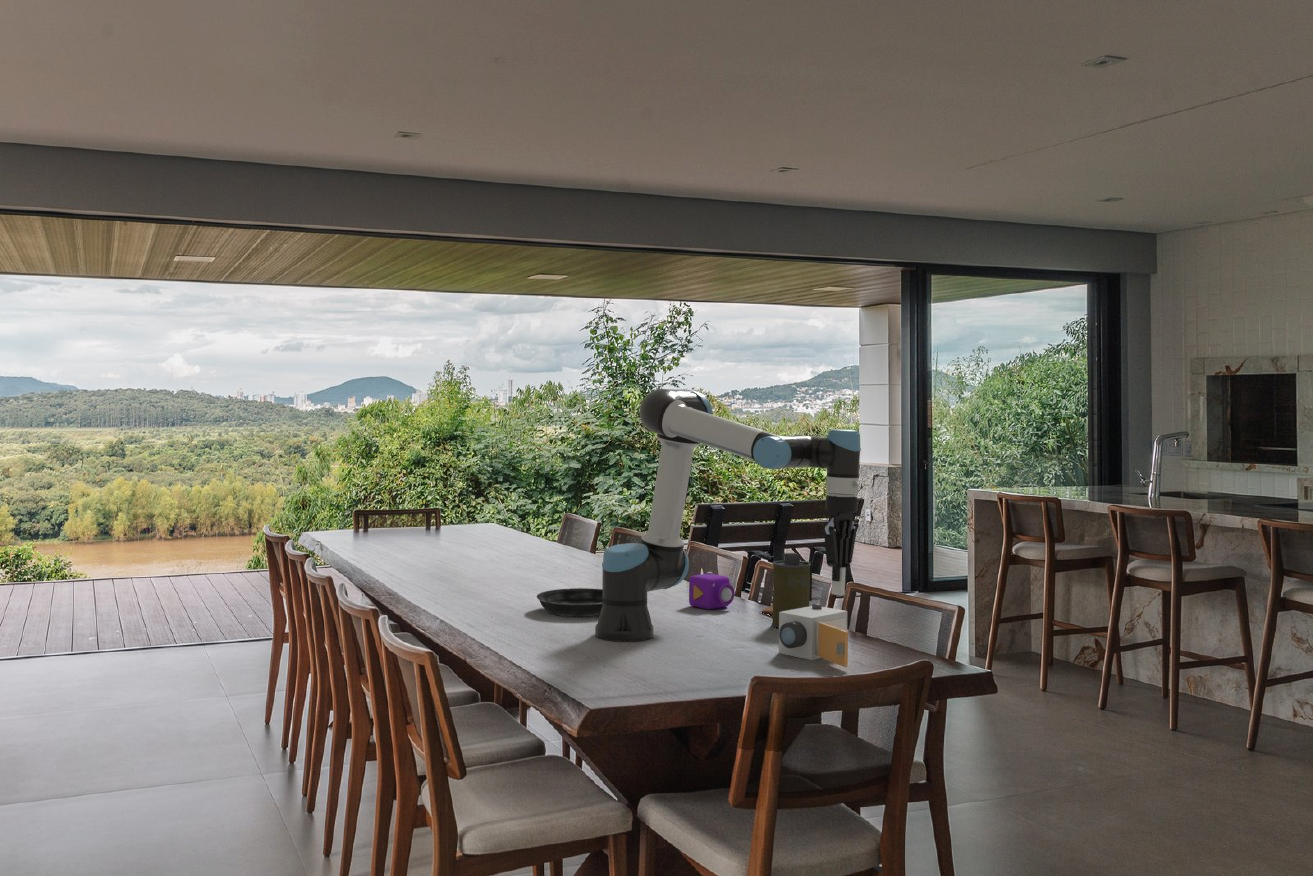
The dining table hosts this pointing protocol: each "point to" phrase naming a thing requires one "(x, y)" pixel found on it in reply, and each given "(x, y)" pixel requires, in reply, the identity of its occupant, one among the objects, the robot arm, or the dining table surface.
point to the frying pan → (572, 602)
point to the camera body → (806, 629)
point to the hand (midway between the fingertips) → (837, 594)
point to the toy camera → (710, 591)
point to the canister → (791, 585)
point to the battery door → (832, 644)
